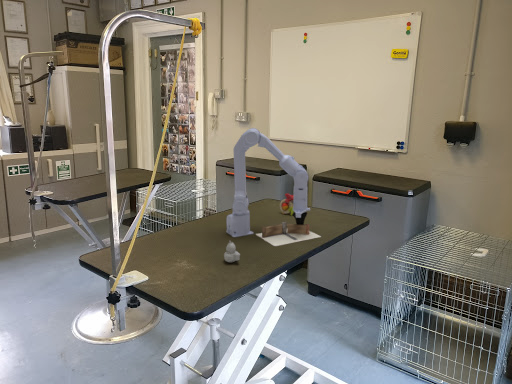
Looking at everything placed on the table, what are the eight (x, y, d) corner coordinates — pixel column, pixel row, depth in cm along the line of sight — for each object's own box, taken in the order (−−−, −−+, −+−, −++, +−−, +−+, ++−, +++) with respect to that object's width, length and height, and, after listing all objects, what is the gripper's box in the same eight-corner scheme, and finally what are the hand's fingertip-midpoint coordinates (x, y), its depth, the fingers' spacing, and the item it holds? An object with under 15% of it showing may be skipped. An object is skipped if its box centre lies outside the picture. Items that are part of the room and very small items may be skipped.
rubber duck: (230, 257, 145) (229, 236, 143) (244, 261, 141) (244, 240, 139) (220, 262, 140) (219, 240, 139) (234, 266, 137) (234, 244, 135)
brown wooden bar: (287, 233, 167) (287, 224, 166) (287, 232, 169) (287, 223, 168) (309, 234, 166) (309, 225, 165) (309, 233, 167) (309, 224, 166)
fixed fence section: (263, 238, 163) (263, 226, 162) (261, 236, 164) (261, 225, 163) (287, 233, 168) (287, 222, 167) (285, 232, 170) (285, 221, 169)
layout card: (274, 247, 154) (274, 245, 154) (255, 235, 168) (255, 233, 168) (321, 237, 164) (321, 236, 164) (299, 226, 178) (299, 225, 178)
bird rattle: (281, 219, 196) (297, 214, 191) (272, 198, 195) (288, 192, 191) (286, 216, 201) (302, 211, 196) (278, 195, 201) (293, 190, 196)
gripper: (308, 202, 157) (308, 235, 161) (311, 194, 171) (311, 224, 174) (290, 201, 159) (290, 234, 162) (295, 193, 173) (294, 223, 176)
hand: (300, 229), depth 168 cm, fingers closed
